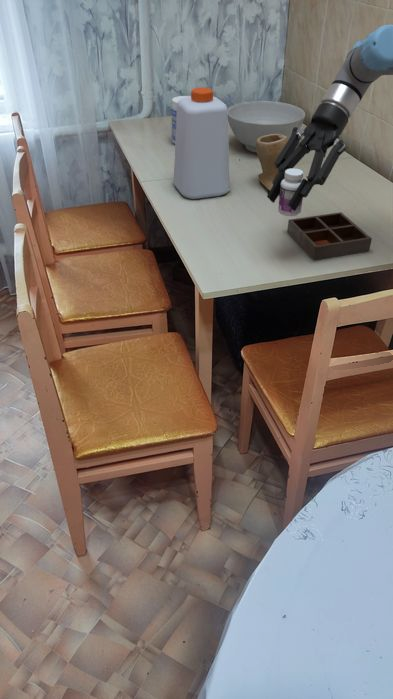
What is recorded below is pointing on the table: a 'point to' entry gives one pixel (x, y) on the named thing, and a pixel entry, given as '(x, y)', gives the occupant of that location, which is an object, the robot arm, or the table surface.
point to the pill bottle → (290, 191)
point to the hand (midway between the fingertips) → (281, 203)
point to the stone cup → (269, 156)
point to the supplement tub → (175, 115)
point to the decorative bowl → (263, 120)
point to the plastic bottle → (201, 146)
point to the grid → (328, 235)
